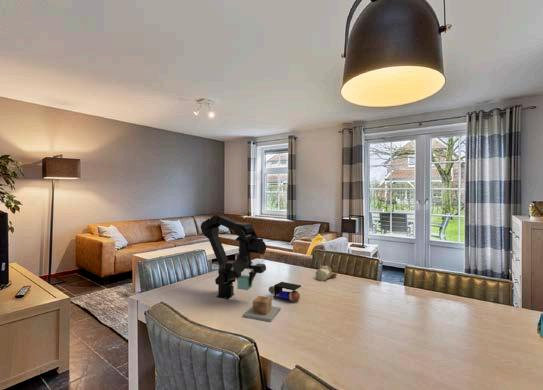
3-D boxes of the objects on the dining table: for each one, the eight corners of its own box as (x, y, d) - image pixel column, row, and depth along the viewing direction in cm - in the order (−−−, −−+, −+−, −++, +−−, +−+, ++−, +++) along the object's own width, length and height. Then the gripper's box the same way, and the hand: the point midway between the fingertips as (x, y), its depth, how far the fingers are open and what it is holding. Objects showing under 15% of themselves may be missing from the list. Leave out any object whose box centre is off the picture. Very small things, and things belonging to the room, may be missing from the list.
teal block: (237, 288, 129) (237, 277, 129) (242, 285, 133) (242, 274, 133) (247, 290, 127) (247, 279, 127) (252, 286, 132) (252, 275, 132)
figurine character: (268, 300, 137) (295, 304, 128) (267, 284, 137) (294, 287, 128) (276, 296, 142) (303, 300, 133) (275, 280, 143) (301, 283, 134)
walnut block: (252, 312, 117) (252, 300, 117) (258, 307, 123) (258, 295, 123) (266, 315, 115) (266, 302, 115) (271, 309, 121) (271, 297, 121)
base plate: (243, 316, 115) (243, 314, 115) (254, 305, 127) (254, 303, 126) (271, 321, 111) (271, 319, 111) (280, 309, 122) (280, 307, 122)
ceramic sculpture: (311, 264, 165) (322, 261, 177) (310, 279, 164) (321, 275, 177) (328, 267, 159) (338, 264, 171) (327, 283, 158) (338, 278, 171)
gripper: (218, 253, 126) (217, 288, 126) (257, 256, 119) (256, 293, 119) (230, 248, 136) (229, 281, 136) (266, 251, 130) (266, 285, 130)
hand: (244, 285), depth 130 cm, fingers closed on teal block, 5 cm apart
